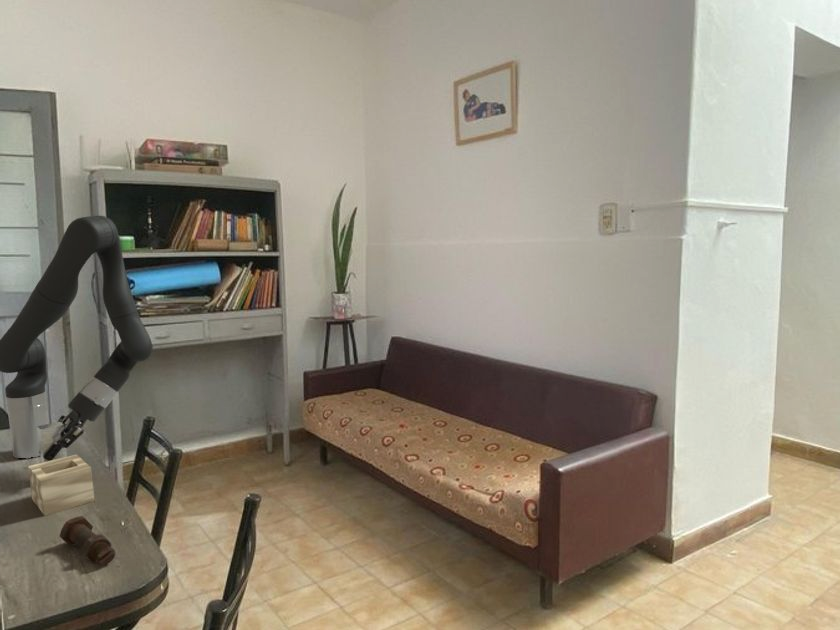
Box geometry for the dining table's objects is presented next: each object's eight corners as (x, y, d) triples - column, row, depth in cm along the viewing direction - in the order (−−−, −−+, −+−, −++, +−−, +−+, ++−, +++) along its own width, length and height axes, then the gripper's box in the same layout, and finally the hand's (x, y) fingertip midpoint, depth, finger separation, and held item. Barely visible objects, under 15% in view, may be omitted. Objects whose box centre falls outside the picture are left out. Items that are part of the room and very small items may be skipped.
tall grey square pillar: (43, 480, 150) (37, 426, 148) (65, 474, 153) (59, 421, 151) (46, 484, 147) (40, 429, 145) (69, 478, 151) (63, 424, 149)
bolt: (104, 577, 109) (72, 548, 119) (127, 555, 112) (94, 528, 122) (85, 559, 106) (53, 531, 116) (109, 536, 109) (76, 510, 119)
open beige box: (32, 499, 139) (28, 466, 138) (79, 485, 146) (76, 454, 145) (44, 515, 130) (40, 481, 129) (94, 500, 137) (91, 467, 136)
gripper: (73, 386, 157) (24, 443, 151) (88, 396, 147) (37, 457, 140) (97, 401, 162) (50, 457, 155) (114, 412, 151) (65, 472, 145)
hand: (44, 456), depth 148 cm, fingers closed on tall grey square pillar, 3 cm apart
